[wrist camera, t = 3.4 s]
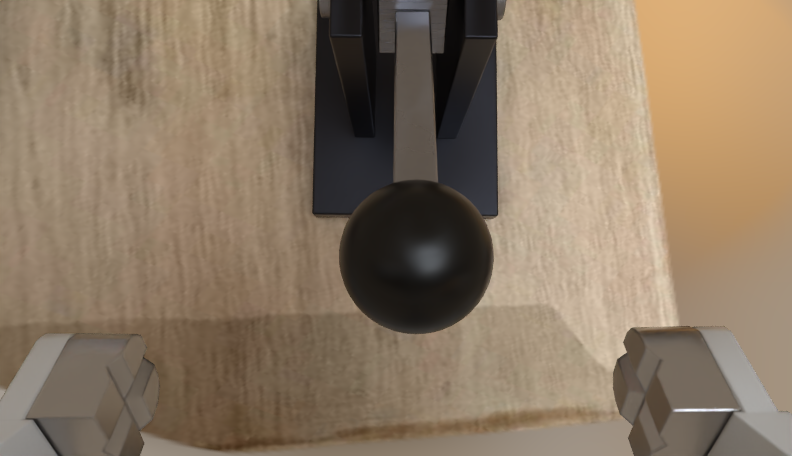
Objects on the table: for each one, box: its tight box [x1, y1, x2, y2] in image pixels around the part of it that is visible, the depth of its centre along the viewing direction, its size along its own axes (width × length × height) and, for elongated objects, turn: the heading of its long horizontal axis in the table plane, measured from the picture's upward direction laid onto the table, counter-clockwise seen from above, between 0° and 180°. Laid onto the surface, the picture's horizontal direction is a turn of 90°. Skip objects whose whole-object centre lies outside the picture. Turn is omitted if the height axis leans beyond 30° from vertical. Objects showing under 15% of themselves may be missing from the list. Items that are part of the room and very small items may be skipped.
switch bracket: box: [312, 0, 506, 219], centre depth 24 cm, size 12×9×13 cm
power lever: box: [339, 0, 494, 334], centre depth 17 cm, size 13×4×4 cm, turn 0°
